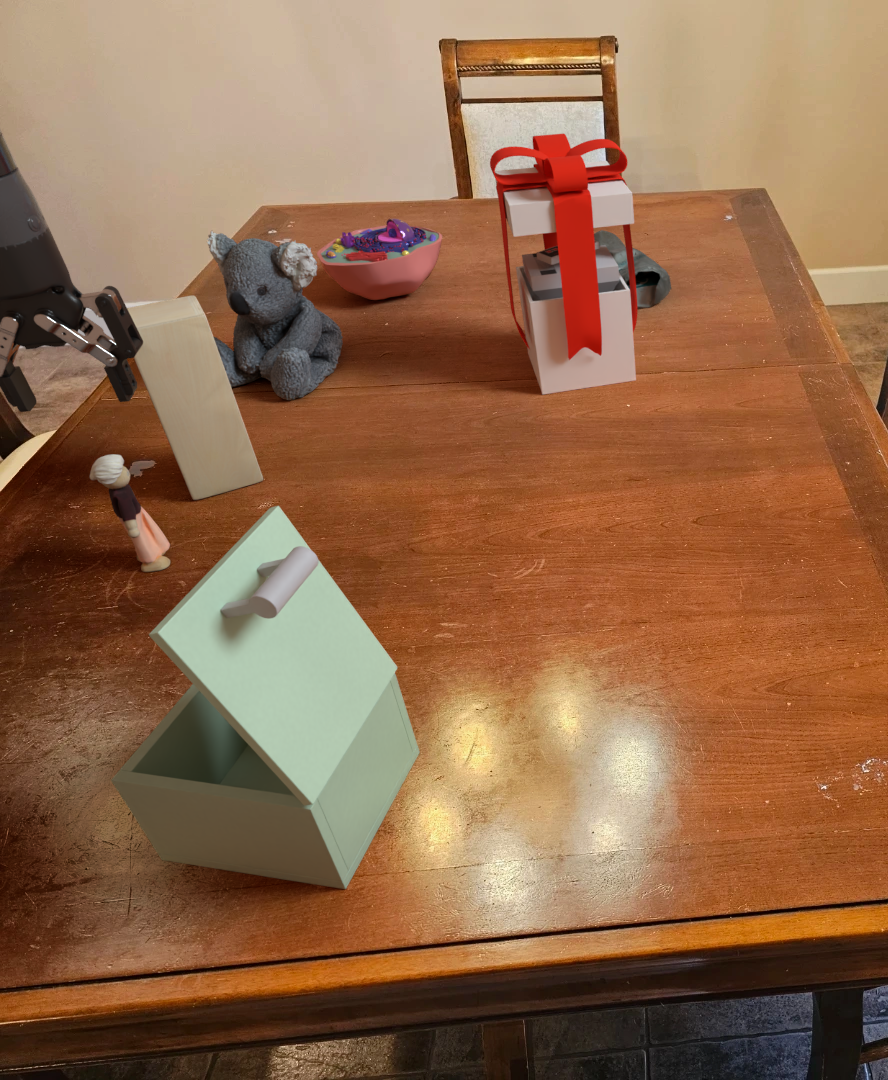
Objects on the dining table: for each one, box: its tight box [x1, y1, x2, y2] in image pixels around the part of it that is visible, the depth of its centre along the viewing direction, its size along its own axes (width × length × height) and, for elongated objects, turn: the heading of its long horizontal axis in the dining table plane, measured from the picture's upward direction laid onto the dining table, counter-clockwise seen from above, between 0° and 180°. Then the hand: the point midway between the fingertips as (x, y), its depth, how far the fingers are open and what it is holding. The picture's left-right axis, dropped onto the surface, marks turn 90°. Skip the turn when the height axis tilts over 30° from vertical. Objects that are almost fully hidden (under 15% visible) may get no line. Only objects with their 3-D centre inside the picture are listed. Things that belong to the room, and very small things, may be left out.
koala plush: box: [206, 229, 344, 401], centre depth 127 cm, size 17×18×20 cm
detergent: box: [594, 229, 672, 310], centre depth 155 cm, size 13×7×25 cm
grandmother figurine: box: [89, 453, 171, 573], centre depth 94 cm, size 8×4×13 cm, turn 45°
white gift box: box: [489, 133, 638, 395], centre depth 124 cm, size 17×17×30 cm
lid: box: [148, 505, 398, 805], centre depth 61 cm, size 16×13×5 cm
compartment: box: [110, 672, 421, 890], centre depth 70 cm, size 15×13×9 cm
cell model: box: [316, 218, 443, 301], centre depth 151 cm, size 17×20×11 cm
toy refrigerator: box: [127, 294, 264, 501], centre depth 104 cm, size 8×7×21 cm
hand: (78, 402), depth 87 cm, fingers open, 8 cm apart
